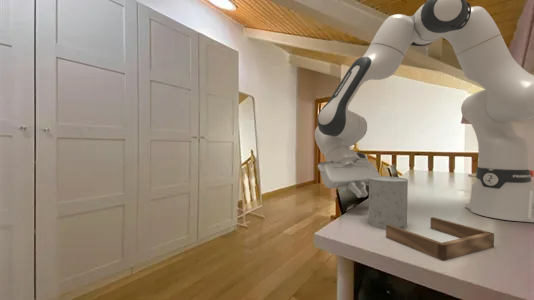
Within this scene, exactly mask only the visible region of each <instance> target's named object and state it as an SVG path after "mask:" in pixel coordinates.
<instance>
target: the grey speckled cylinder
mask: <svg viewBox="0 0 534 300" xmlns="http://www.w3.org/2000/svg"><path fill="white" fill-rule="evenodd" d="M408 182H409V179H407V178H405V177H398V176H397V177H396V176H385V175H383V176H382V175H380V176H374V177H369V185H368V221H367V223H368V224H369V225H370V226H372V227H374V228H378V229H382V230H386V225H392V226H395V227H398V228H401V229H404V230H406V229H407V228H408V190H409V189H408V187H409V185H408Z"/></svg>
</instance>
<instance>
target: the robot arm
mask: <svg viewBox="0 0 534 300" xmlns="http://www.w3.org/2000/svg"><path fill="white" fill-rule="evenodd" d="M441 38H443V39H445V40H446V41H448V42H449V44H450V45H451V46H452V49H453V53H454V54H455V56H456V58H457V59H456V60H457V62H458V64H459V66H460V68H461V70H462V72H463V75H464V76H465V77H466V79H468V80H470V81H472V82H475V83H478V84H479V85H480V86H481V87H482V88H483V90H479V91H477V92H475V93H473V94H471V95H470V96H467V97H466V98H465V99H464V100H463V102H462V103H461V107H460V112H461V115H462V117H463V118H464V119H465V120H466V121H467V122H469V124H470V125H471V127H472V129H473V130H474V133H475V137H476V140H477V146H478V149H477V151H478V152H477V153H478V158H477V159H478V163H477V164H478V166H477V167H476V169H475V174H476V175H475V178H476V179H477V180H476V181H475V182H474V183H472V184H471V188H470V189H471V190H470V199H469V204H465V208H466V209H468V210H469V211H470V212H471V213H473V214H476V215H479V216H484V217H486V218H487V217H488V218H491V219H492V218H493V219H497V220H498V219H499V220H505V221H513V222H514V221H515V222H525V223H526V222H527V223H534V186H533V185H532V183H531V182H532V178H533V177H534V170H532V169H529V168H528V166H529V165H528V163H529V162H528V160H529V144H528V141H527V140H526V139H525V138H523V137H522V136H520V135H518V133H516V130H515V129H514V126H513V122H521V121H529V120H534V75H533V74H531V73H530V72H528V71H527V70H525V69H524V68H523V67H522V66H521V65H519V63H517V61H516V60H515V59H514V58H513V56H512V54H511V52H510V50H509V48H508V46H507V44H506V42H505V40H504V38H503V35H502V34H501V31H500V29H499V27H498V25H497V23H496V21H495V20H494V18H493V17H492V16H491V15H490V13H489V12H488V10H486V8H484V7H482V6H479V5H476V6H471V3H470V2H468V1H467V0H426V1H425V2H424V3H423V4H422V5H420V7H419V8H418V9H417V10H416V12H414V14H413V15H406V14H401V13H396V14H392V15H389V16H388V17H387V18H386V19H384V22H383V23H382V24H381V26H380V27H379V28H378V30H377V32H376V34H374V37H373V39H372V41H371V42H370V44H369V46H368V48H367V50H366V52H365V53H364V54H363V56H360V57H358V58H357V59H356V60H355V61H354V62H353V63H352V64H351V66H350V67H349V68H348V70H347V71H346V73H345V75H344V76H343V78H342V79H341V81H340V82H339V84H338V85H337V87H336V88H335V91H334V92H333V94H332V95H331V97H330V98H329V100H328V101H327V102H326V103H325V105H323V107H321V109H320V110H319V111H318V115H317V118H316V119H317V120H316V122H317V126H316V128H315V130H314V139H315V143H316V145H317V146H318V149H319V151H320V152H321V154H322V155H323V156H324V159H325V161H319V163H318V164H317V168H318V170H319V172H320V176H321V179H322V182H323V184H324V186H325V187H326V188H328V189H338V188H339V189H341V188H348V190H349V191H351V192H352V193H353V194H355V196H356V197H357V198H367V196H369V192H368V191H367V190H366V189H367V188H366V187H367V186H369V177H374V176H381V174H380V173H379V171H378V169H377V168H376V167H375V165H374V164H373V163H372V162H371V161H369V160H368V159H369V156H367V154H365V153H361V152H358V151H355V150H353V149H351V148H350V147H352V146H353V145H355V144H356V143H359V141H360V140H362V139H363V138H364V137H365V135H366V134H367V131H368V122H367V120H366V118H365V117H363V116H361V115H360V114H357V113H356V112H353V111H351V110H349V106H350V104H351V102H352V101H353V98H355V96H356V94H357V92H358V91H359V90H360V88H361V87H362V85H363V84H364V83H366V82H367V81H370V80H373V81H375V80H376V81H377V80H378V81H379V80H384V79H387V78H389V77H392V76H393V75H394V74H395V73H396V72H397V70H398V69H399V68H400V66H401V64H402V62H403V60H404V58H405V56H406V54H407V52H408V49H409V48H410V47H411V46H412V47H413V46H414V47H425V46H428V45H431V44H433V43H434V42H436V41H438V40H440V39H441Z"/></svg>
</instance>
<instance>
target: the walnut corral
mask: <svg viewBox="0 0 534 300" xmlns="http://www.w3.org/2000/svg"><path fill="white" fill-rule="evenodd" d="M431 228H432V229H431ZM430 229H431V230H434V229H435V230H434V231H438V232H440V233H443V234H447V235H450V236H453V237H457V239H453V240H448V241H443V242H440V241H438V240H435V239H431V238H429V237H427V236H423V235H420V234H417V233H414V232H412V231H409V230H406V229H401V228H398V227H395V226H392V225H386V229H385V237H386V238H388V239H390V240H392V241H395V242H397V243H399V244H402V245H405V246H407V247H409V248H412V249H415V250H417V251H419V252H422V253H424V254H426V255H429V256H431V257H434V258H437V259H439V260H441V261H445V260H449V259H453V258H457V257H461V256H465V255H468V254H471V253H477V252H479V251H483V250H486V249H487V250H488V249H491V248H494V247H495V233H494V232H490V231H486V230H482V229H479V228H474V227H471V226H469V225H463V224H461V223H456V222H453V221H450V220H447V219H446V220H445V219H441V218H439V217H435V216H433V217H430Z"/></svg>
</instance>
